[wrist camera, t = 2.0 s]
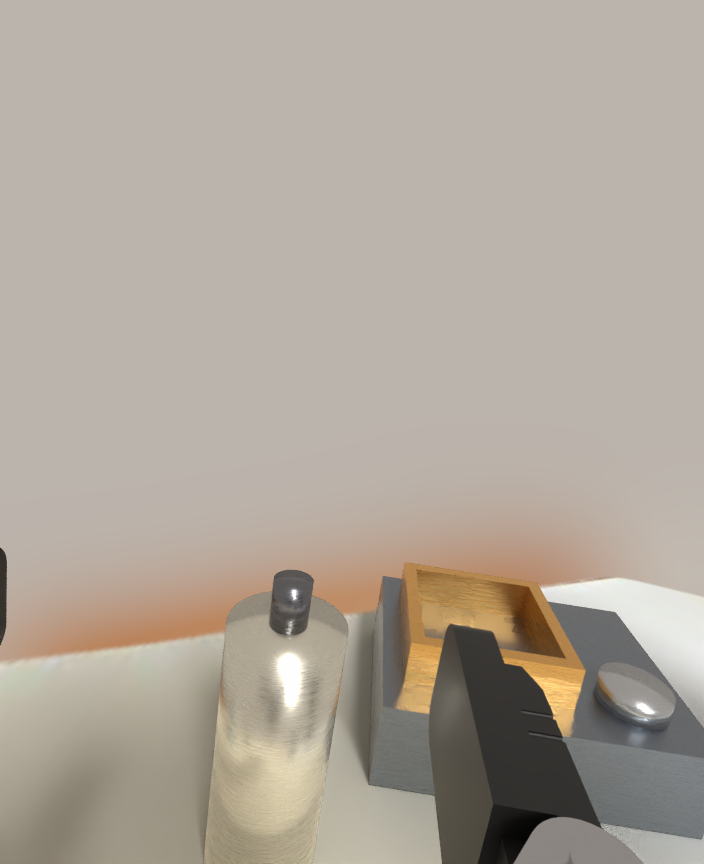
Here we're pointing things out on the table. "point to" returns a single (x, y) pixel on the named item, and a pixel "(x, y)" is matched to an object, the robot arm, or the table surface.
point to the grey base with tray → (562, 684)
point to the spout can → (274, 724)
